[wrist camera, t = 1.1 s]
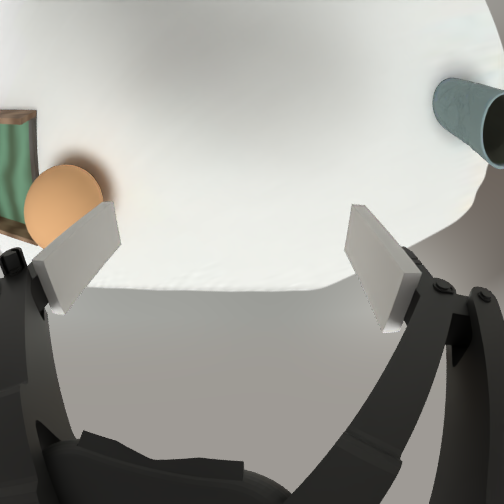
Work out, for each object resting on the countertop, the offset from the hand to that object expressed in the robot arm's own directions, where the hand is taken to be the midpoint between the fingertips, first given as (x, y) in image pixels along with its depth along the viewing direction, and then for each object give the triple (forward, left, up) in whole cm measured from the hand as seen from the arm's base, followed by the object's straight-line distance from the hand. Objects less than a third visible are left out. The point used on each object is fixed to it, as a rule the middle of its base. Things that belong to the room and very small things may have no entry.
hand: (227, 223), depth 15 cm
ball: (-7, -27, -17) cm, 33 cm away
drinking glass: (+11, +29, -24) cm, 39 cm away
